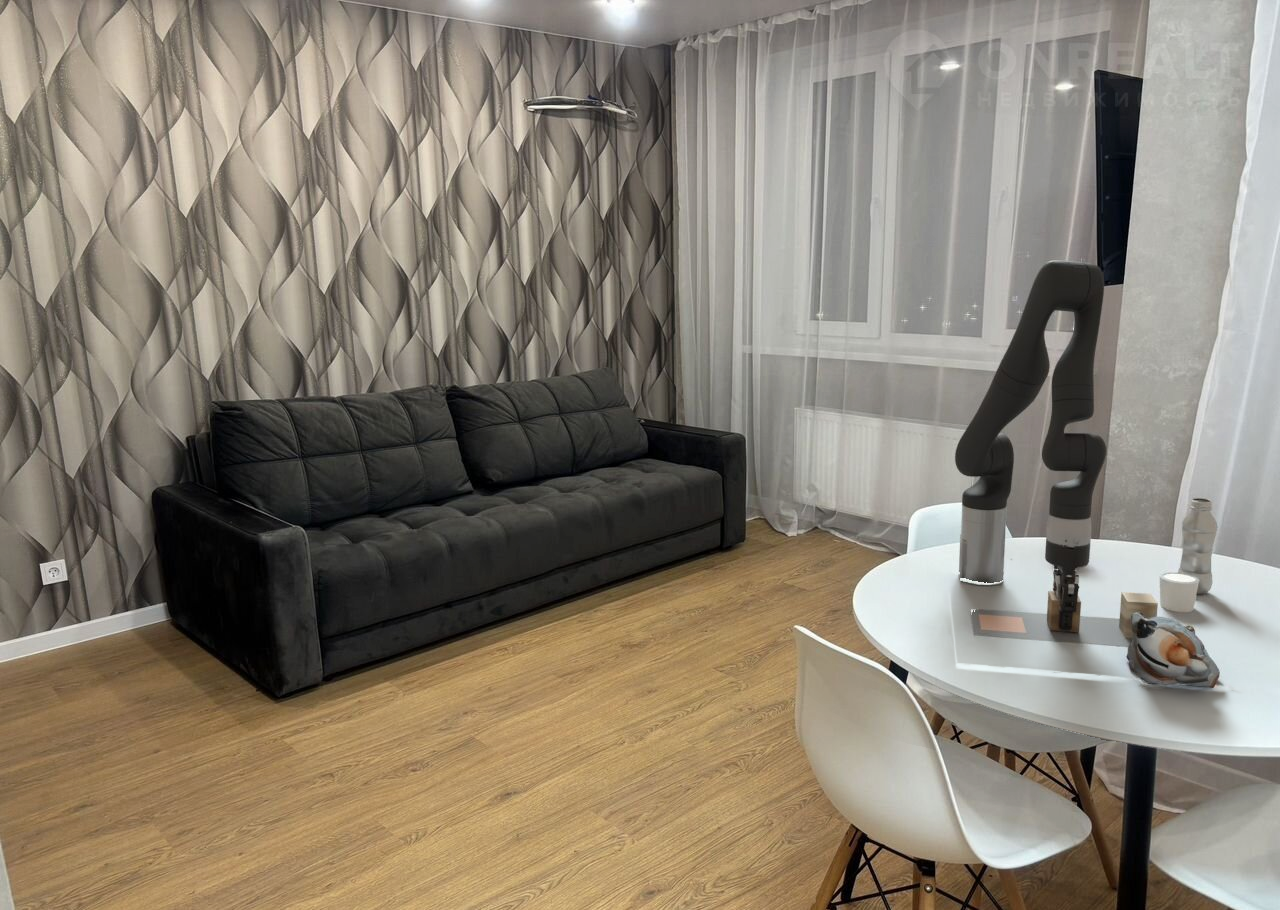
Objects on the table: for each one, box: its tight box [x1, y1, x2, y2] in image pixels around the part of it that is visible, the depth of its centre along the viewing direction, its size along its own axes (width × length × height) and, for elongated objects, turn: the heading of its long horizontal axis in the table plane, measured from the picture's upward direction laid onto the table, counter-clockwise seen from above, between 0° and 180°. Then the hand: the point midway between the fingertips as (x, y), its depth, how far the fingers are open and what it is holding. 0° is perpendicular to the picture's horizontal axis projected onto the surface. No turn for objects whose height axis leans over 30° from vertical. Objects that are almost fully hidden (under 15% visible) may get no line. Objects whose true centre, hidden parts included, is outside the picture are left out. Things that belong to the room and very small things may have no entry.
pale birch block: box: [1119, 591, 1159, 638], centre depth 168 cm, size 5×5×7 cm
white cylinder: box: [1159, 571, 1199, 613], centre depth 180 cm, size 7×7×7 cm
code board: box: [969, 608, 1132, 648], centre depth 172 cm, size 33×14×1 cm, turn 73°
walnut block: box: [1046, 590, 1082, 632], centre depth 171 cm, size 5×5×6 cm
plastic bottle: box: [1177, 497, 1219, 595], centre depth 188 cm, size 6×7×20 cm
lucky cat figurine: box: [1125, 612, 1221, 688], centre depth 150 cm, size 15×12×14 cm
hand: (1062, 623), depth 172 cm, fingers closed on walnut block, 5 cm apart
